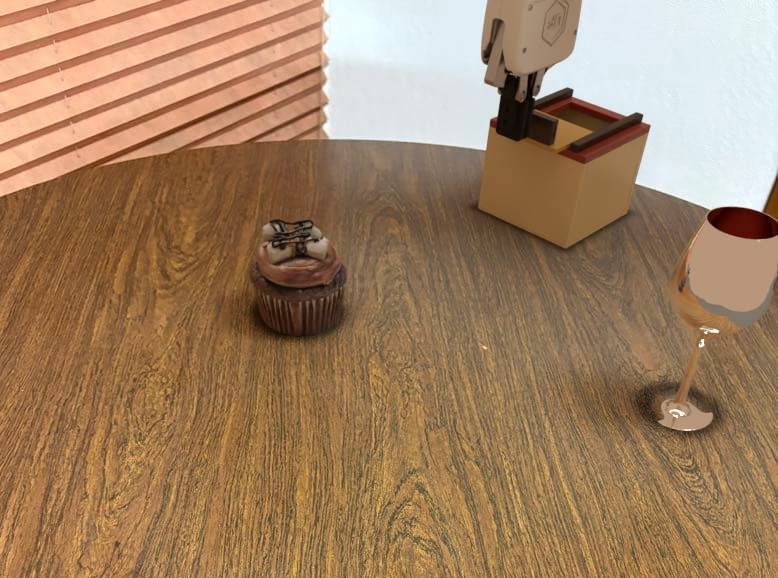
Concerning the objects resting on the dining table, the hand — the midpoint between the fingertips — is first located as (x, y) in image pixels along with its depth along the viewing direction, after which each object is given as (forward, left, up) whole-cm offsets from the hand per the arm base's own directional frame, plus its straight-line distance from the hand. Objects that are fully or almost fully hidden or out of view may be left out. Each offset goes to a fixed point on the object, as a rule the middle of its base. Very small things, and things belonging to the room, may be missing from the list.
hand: (511, 135), depth 90 cm
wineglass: (+12, +31, -12) cm, 35 cm away
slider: (-6, 0, -1) cm, 6 cm away
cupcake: (+27, -4, -12) cm, 30 cm away
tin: (-11, 0, -12) cm, 17 cm away
